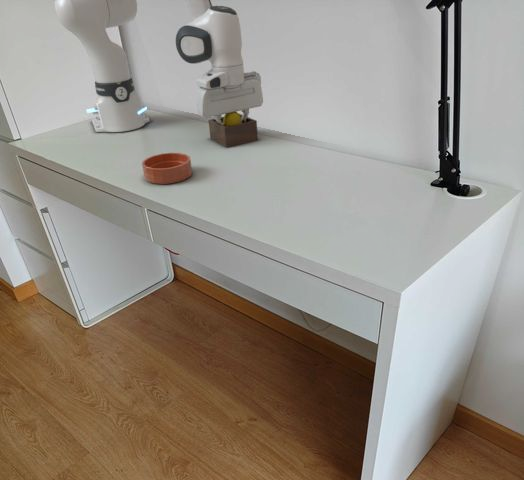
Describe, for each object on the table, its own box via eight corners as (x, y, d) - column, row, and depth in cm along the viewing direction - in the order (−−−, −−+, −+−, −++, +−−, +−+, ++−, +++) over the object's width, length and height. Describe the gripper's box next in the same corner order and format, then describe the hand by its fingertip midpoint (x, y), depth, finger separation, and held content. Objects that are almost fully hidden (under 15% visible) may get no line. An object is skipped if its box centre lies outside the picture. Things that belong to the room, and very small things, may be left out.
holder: (210, 139, 152) (208, 120, 149) (240, 132, 156) (239, 113, 153) (226, 147, 145) (224, 127, 142) (257, 140, 149) (256, 120, 145)
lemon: (245, 138, 149) (243, 110, 144) (228, 141, 147) (225, 113, 142) (238, 134, 153) (236, 106, 148) (222, 137, 151) (219, 108, 146)
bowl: (138, 174, 131) (135, 159, 129) (180, 164, 136) (178, 149, 133) (155, 188, 123) (152, 172, 120) (200, 177, 127) (198, 161, 125)
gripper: (254, 68, 146) (257, 119, 154) (191, 80, 138) (198, 132, 147) (265, 71, 141) (268, 123, 150) (201, 83, 134) (207, 137, 142)
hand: (232, 127), depth 148 cm, fingers closed on lemon, 5 cm apart
